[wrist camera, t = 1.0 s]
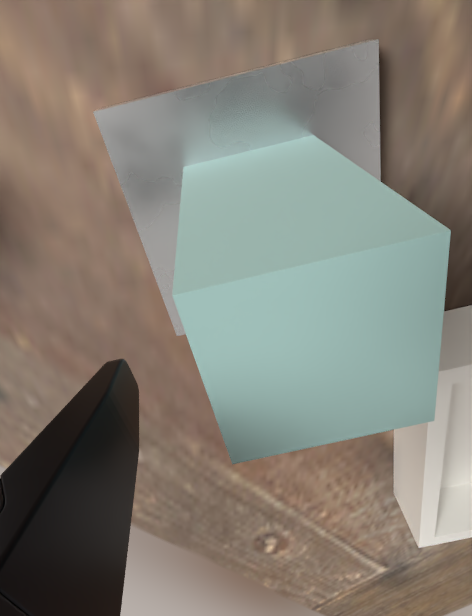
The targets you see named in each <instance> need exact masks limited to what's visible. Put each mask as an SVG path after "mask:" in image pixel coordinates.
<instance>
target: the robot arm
mask: <svg viewBox="0 0 472 616" xmlns="http://www.w3.org/2000/svg"><path fill="white" fill-rule="evenodd" d="M138 455H139V389H138V385H137V382H136V380H135V378H134V376H133V374H132V372H131V370H130V368H129V366H128V364H127V362H126V361H125V360H124V359H118V360H113V361H109V362H107V363H105V364H104V365H103V366H102V368H101V369H100V370H99V371H98V372H97V373H96V374H95V375H94V376H93V377H92V378H91V379H90V380H89V381H88V383H87V384H86V385H85V386H84V387H83V388H82V389H81V390H80V391H79V392H78V393H77V394H76V395H75V396H74V397H73V399H72V400H71V401H70V402H69V403H68V404H67V405H66V406H65V407H64V408H63V409H62V410H61V411H60V412H59V414H58V415H57V416H56V417H55V418H54V419H53V420H52V421H51V422H50V423H49V424H48V425H47V426H46V427H45V429H44V430H43V431H42V432H41V433H40V434H39V435H38V436H37V437H36V438H35V439H34V440H33V441H32V442H31V443H30V445H29V446H28V447H27V448H26V449H25V450H24V451H23V452H22V453H21V454H20V455H19V456H18V457H17V458H16V459H15V461H14V462H13V463H12V464H11V465H10V466H9V467H8V468H7V469H6V470H5V471H4V472H3V473H2V475H1V479H0V616H120V612H121V604H122V595H123V586H124V578H125V568H126V560H127V551H128V542H129V534H130V525H131V517H132V508H133V499H134V491H135V482H136V473H137V464H138Z"/></svg>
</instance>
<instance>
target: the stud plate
mask: <svg viewBox="0 0 472 616" xmlns="http://www.w3.org/2000/svg"><path fill="white" fill-rule="evenodd" d="M93 113H94V115H95V118H96V121H97V123H98V126H99V129H100V131H101V134H102V137H103V139H104V142H105V145H106V147H107V150H108V153H109V155H110V158H111V161H112V163H113V166H114V169H115V171H116V174H117V177H118V179H119V182H120V185H121V188H122V190H123V193H124V196H125V198H126V201H127V204H128V206H129V209H130V212H131V214H132V217H133V220H134V222H135V225H136V228H137V230H138V233H139V236H140V238H141V241H142V244H143V246H144V249H145V252H146V254H147V257H148V260H149V262H150V265H151V268H152V270H153V273H154V276H155V278H156V281H157V284H158V286H159V289H160V292H161V294H162V297H163V300H164V302H165V305H166V308H167V310H168V313H169V316H170V319H171V321H172V324H173V327H174V329H175V332H176V335H177V336H179V335H184V334H186V333H185V330H184V327H183V324H182V321H181V319H180V316H179V313H178V310H177V307H176V305H175V302H174V299H173V296H172V293H173V282H174V270H175V259H176V247H177V236H178V224H179V213H180V201H181V190H182V178H183V167H186V166H190V165H194V164H198V163H202V162H206V161H210V160H214V159H219V158H223V157H227V156H231V155H235V154H239V153H243V152H247V151H251V150H255V149H259V148H263V147H267V146H271V145H275V144H279V143H283V142H287V141H291V140H295V139H300V138H304V137H308V136H312V135H314V136H316V137H317V138H318V139H320V140H321V141H323V142H324V143H326V144H327V145H329V146H330V147H331V148H333V149H334V150H336V151H337V152H339V153H340V154H342V155H343V156H344V157H346V158H347V159H349V160H350V161H352V162H353V163H354V164H356V165H357V166H359V167H360V168H362V169H363V170H365V171H366V172H367V173H369V174H370V175H372V176H373V177H375V178H376V179H378V180H379V181H380V182H381V165H380V99H379V39H373V40H365V41H361V42H357V43H354V44H350V45H346V46H342V47H338V48H334V49H330V50H326V51H322V52H318V53H314V54H310V55H307V56H303V57H299V58H295V59H291V60H287V61H283V62H279V63H275V64H271V65H267V66H263V67H260V68H256V69H252V70H248V71H244V72H240V73H236V74H232V75H228V76H224V77H220V78H216V79H213V80H209V81H205V82H201V83H197V84H193V85H189V86H185V87H181V88H177V89H173V90H169V91H166V92H162V93H158V94H154V95H150V96H146V97H142V98H138V99H134V100H130V101H126V102H122V103H119V104H115V105H111V106H107V107H103V108H99V109H97V110H96V111H94V112H93Z"/></svg>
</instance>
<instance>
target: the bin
mask: <svg viewBox="0 0 472 616" xmlns="http://www.w3.org/2000/svg"><path fill="white" fill-rule="evenodd" d="M394 495H395V497H396V499H397V501H398V503H399V506H400V508H401V510H402V512H403V514H404V517H405V519H406V521H407V523H408V525H409V528H410V530H411V532H412V534H413V536H414V539H415V541H416V543H417V545H418V547H419V548H421V547H426V546H431V545H436V544H441V543H446V542H451V541H456V540H461V539H466V538H471V537H472V305H470V306H466V307H461V308H457V309H453V310H448V311H444V315H443V327H442V338H441V350H440V361H439V373H438V384H437V396H436V407H435V419H434V421H431V422H427V423H422V424H417V425H413V426H408V427H403V428H399V429H394Z"/></svg>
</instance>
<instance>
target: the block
mask: <svg viewBox="0 0 472 616" xmlns="http://www.w3.org/2000/svg"><path fill="white" fill-rule="evenodd" d="M450 235H451V230H450V229H448V228H447V227H445V226H444V225H442V224H441V223H440V222H438V221H437V220H435V219H434V218H432V217H431V216H429V215H428V214H427V213H425V212H424V211H422V210H421V209H419V208H418V207H416V206H415V205H414V204H412V203H411V202H409V201H408V200H406V199H405V198H403V197H402V196H401V195H399V194H398V193H396V192H395V191H393V190H392V189H391V188H389V187H388V186H386V185H385V184H383V183H382V182H380V181H379V180H378V179H376V178H375V177H373V176H372V175H370V174H369V173H367V172H366V171H365V170H363V169H362V168H360V167H359V166H357V165H356V164H354V163H353V162H352V161H350V160H349V159H347V158H346V157H344V156H343V155H342V154H340V153H339V152H337V151H336V150H334V149H333V148H331V147H330V146H329V145H327V144H326V143H324V142H323V141H321V140H320V139H318V138H317V137H316V136H314V135H312V136H308V137H304V138H300V139H295V140H291V141H287V142H283V143H279V144H275V145H271V146H267V147H263V148H259V149H255V150H251V151H247V152H243V153H239V154H235V155H231V156H227V157H223V158H219V159H214V160H210V161H206V162H202V163H198V164H194V165H190V166H186V167H183V178H182V190H181V201H180V213H179V224H178V236H177V247H176V259H175V270H174V282H173V293H172V296H173V299H174V302H175V305H176V307H177V310H178V313H179V316H180V319H181V321H182V324H183V327H184V330H185V333H186V335H187V338H188V341H189V344H190V347H191V349H192V352H193V355H194V358H195V361H196V363H197V366H198V369H199V372H200V375H201V377H202V380H203V383H204V386H205V389H206V391H207V394H208V397H209V400H210V403H211V405H212V408H213V411H214V414H215V417H216V419H217V422H218V425H219V428H220V431H221V433H222V436H223V439H224V442H225V445H226V447H227V450H228V453H229V456H230V459H231V461H232V464H236V463H240V462H245V461H250V460H254V459H259V458H264V457H268V456H273V455H278V454H282V453H287V452H292V451H296V450H301V449H306V448H310V447H315V446H320V445H324V444H329V443H333V442H338V441H343V440H347V439H352V438H357V437H361V436H366V435H371V434H375V433H380V432H385V431H389V430H394V429H399V428H403V427H408V426H413V425H417V424H422V423H427V422H431V421H434V419H435V407H436V396H437V384H438V373H439V361H440V350H441V338H442V327H443V315H444V304H445V292H446V281H447V269H448V258H449V246H450Z"/></svg>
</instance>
